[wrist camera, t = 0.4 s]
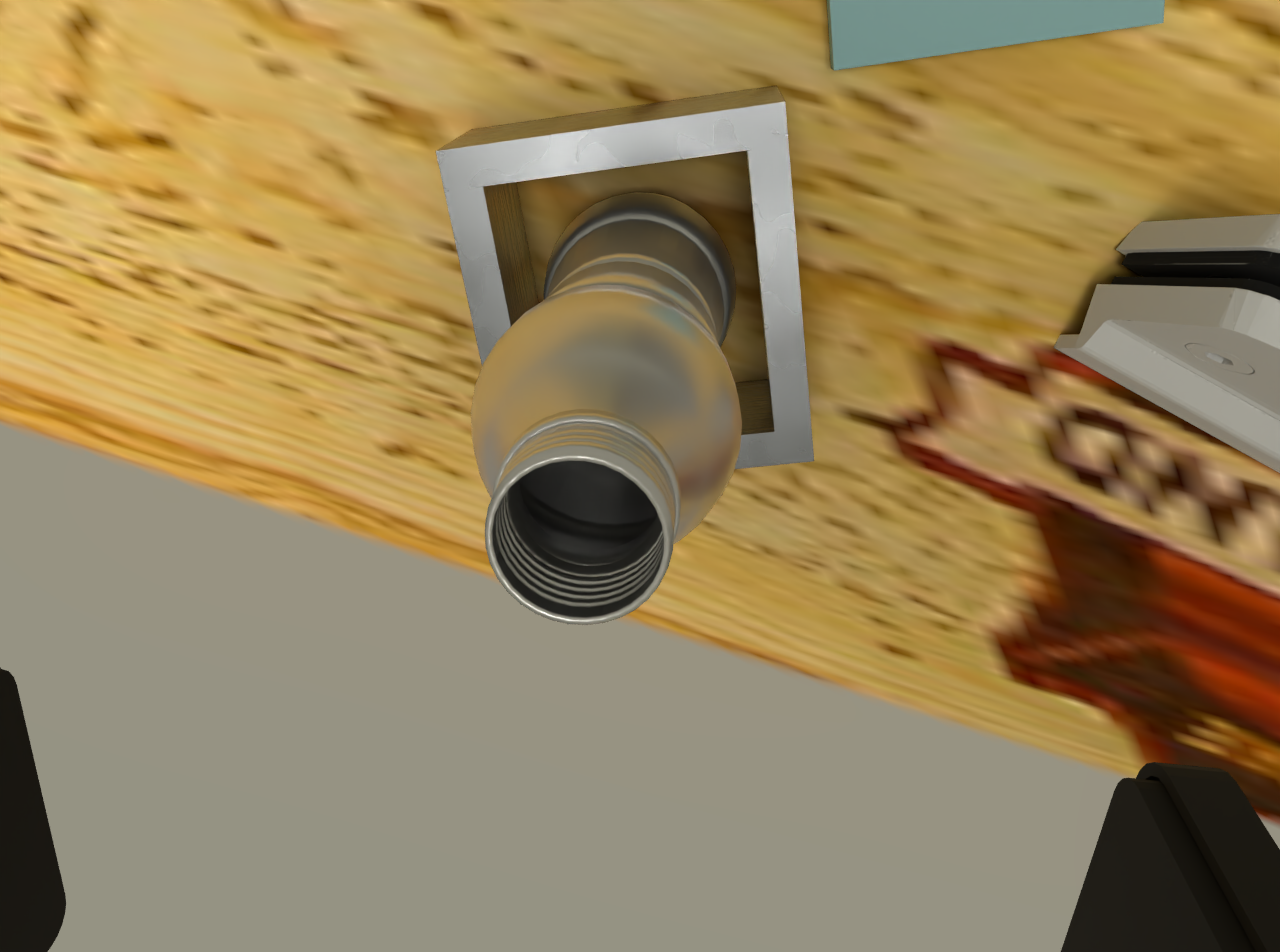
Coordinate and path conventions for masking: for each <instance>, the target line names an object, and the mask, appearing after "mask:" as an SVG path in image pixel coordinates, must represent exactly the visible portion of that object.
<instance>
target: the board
mask: <svg viewBox="0 0 1280 952" xmlns="http://www.w3.org/2000/svg"><path fill="white" fill-rule="evenodd" d="M1164 3H1165V0H827V12H828V28H829V44H830V60H831V68H832V69H833V70H841V69H848V68H855V67H862V66H868V65H875V64H882V63H889V62H896V61H903V60H910V59H917V58H924V57H931V56H938V55H945V54H952V53H958V52H965V51H972V50H979V49H986V48H993V47H1000V46H1007V45H1014V44H1021V43H1028V42H1035V41H1042V40H1048V39H1055V38H1062V37H1069V36H1076V35H1083V34H1090V33H1097V32H1104V31H1111V30H1118V29H1125V28H1132V27H1138V26H1145V25H1152V24H1159V23H1163V19H1164Z"/></svg>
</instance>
